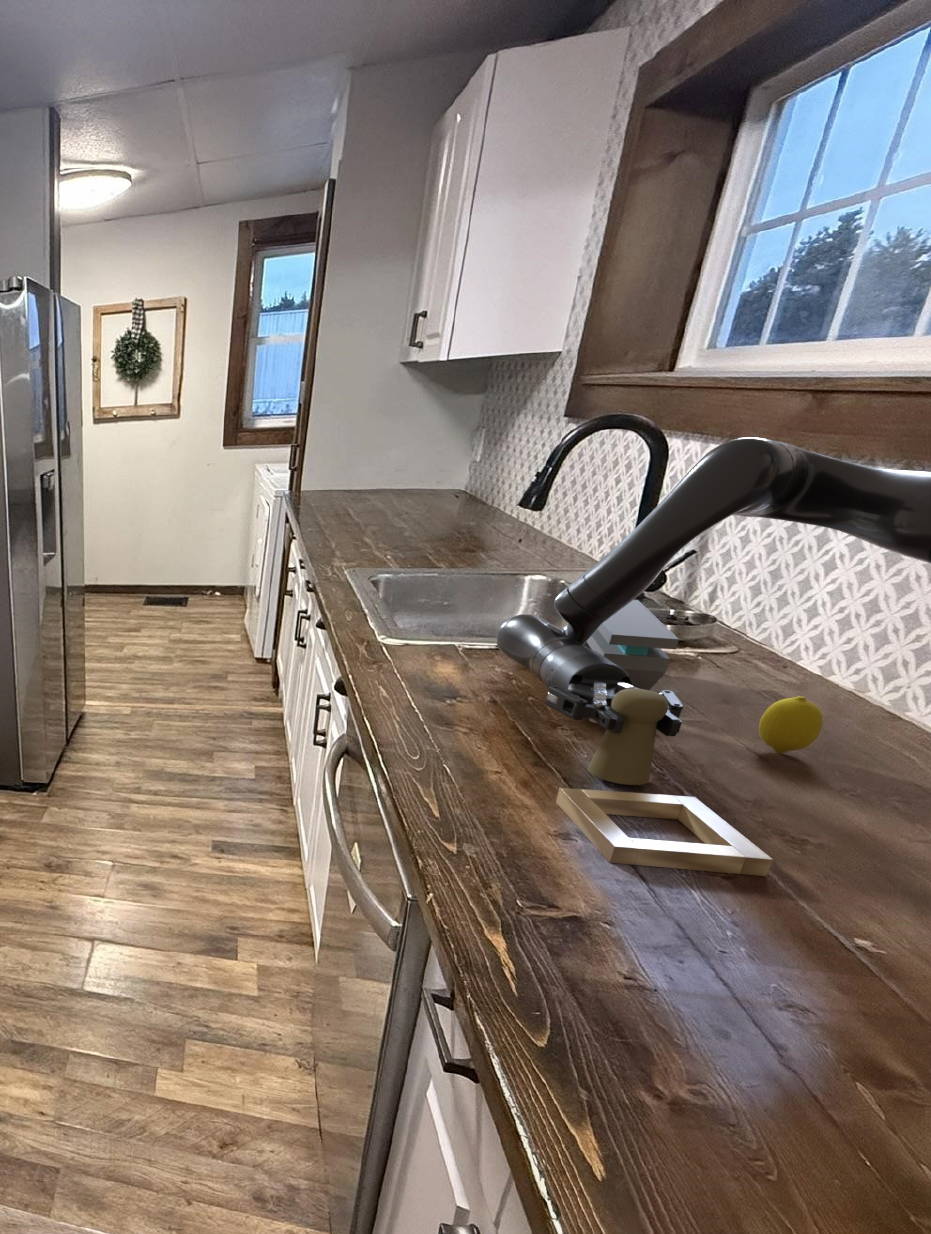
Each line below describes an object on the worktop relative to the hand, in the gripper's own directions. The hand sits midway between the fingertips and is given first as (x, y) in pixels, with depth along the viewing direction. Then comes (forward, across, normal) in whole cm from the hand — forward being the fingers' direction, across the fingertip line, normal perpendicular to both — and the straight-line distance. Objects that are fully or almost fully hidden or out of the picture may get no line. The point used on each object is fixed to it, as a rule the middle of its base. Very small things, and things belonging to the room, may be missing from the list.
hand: (646, 727), depth 91 cm
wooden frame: (+12, -3, +8) cm, 15 cm away
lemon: (-15, +23, +9) cm, 29 cm away
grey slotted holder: (-43, +16, +9) cm, 46 cm away
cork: (-3, 0, +8) cm, 8 cm away
